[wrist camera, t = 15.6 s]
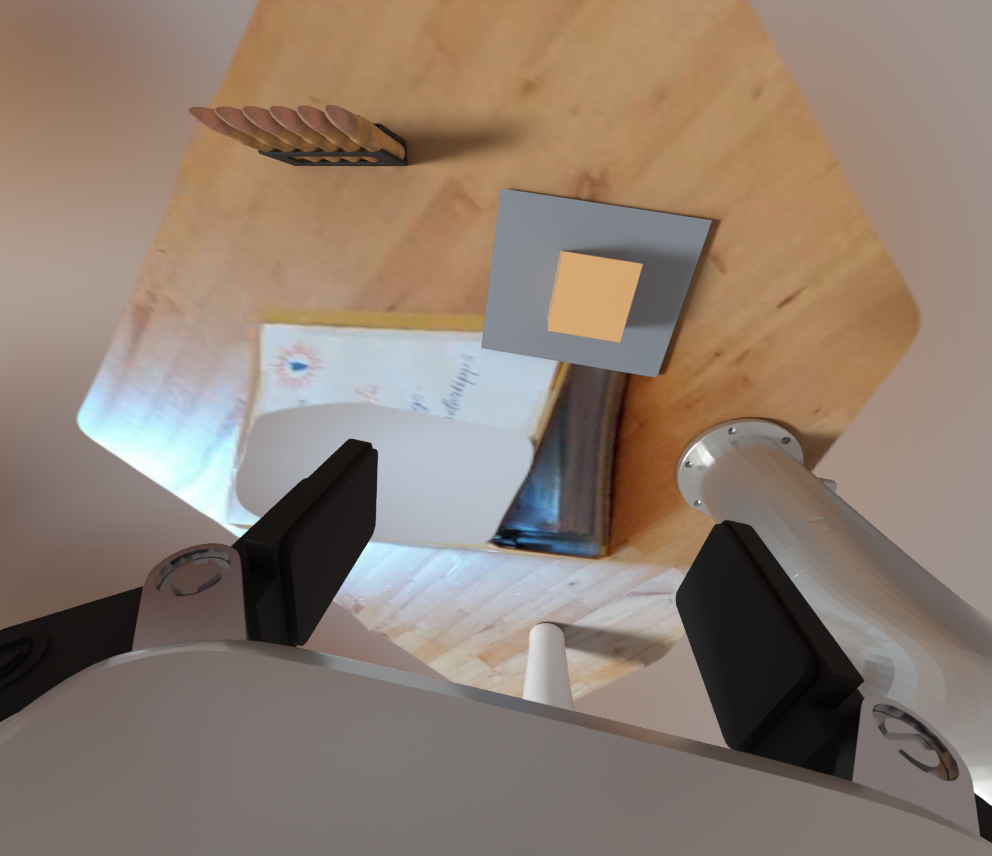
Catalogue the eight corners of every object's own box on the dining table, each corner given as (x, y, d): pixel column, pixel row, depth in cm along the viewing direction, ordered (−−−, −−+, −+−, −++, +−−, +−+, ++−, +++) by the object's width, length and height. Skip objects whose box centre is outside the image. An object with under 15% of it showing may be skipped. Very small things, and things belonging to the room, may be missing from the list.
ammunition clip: (406, 140, 32) (338, 88, 22) (408, 166, 33) (343, 128, 22) (289, 140, 33) (168, 91, 23) (294, 165, 34) (179, 129, 23)
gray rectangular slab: (707, 220, 32) (730, 217, 28) (654, 374, 39) (667, 389, 35) (502, 189, 33) (496, 182, 29) (482, 345, 39) (475, 357, 35)
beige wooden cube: (627, 260, 33) (643, 264, 28) (608, 328, 36) (619, 342, 31) (560, 250, 34) (563, 251, 28) (547, 317, 36) (547, 330, 31)
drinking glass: (550, 652, 60) (552, 769, 47) (516, 632, 59) (508, 747, 45) (578, 632, 57) (588, 750, 44) (542, 611, 56) (542, 726, 43)
